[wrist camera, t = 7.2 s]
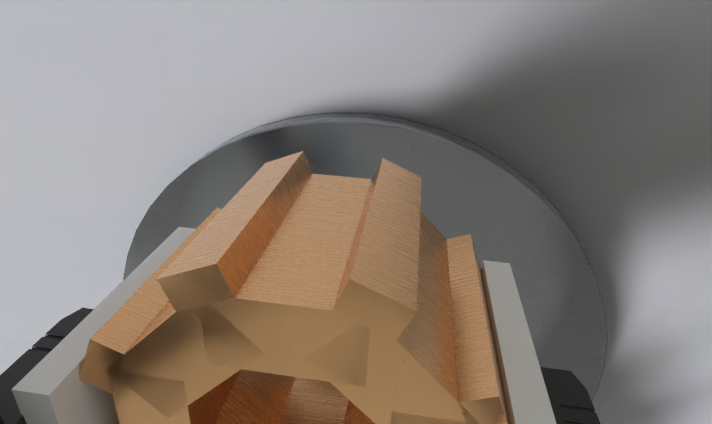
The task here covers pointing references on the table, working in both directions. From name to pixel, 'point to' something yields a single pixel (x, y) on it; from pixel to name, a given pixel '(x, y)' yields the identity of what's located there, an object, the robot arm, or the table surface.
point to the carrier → (438, 203)
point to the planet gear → (307, 313)
